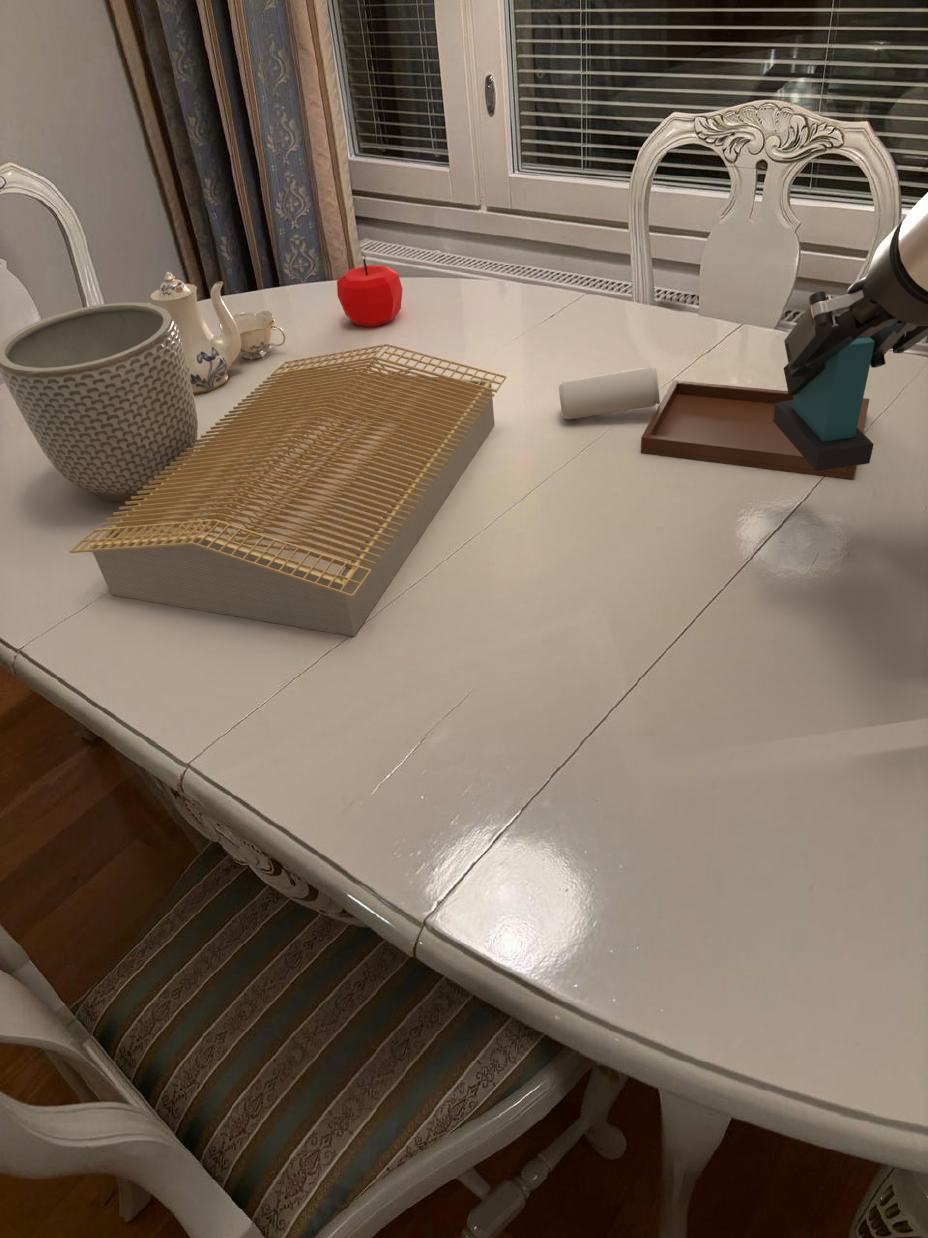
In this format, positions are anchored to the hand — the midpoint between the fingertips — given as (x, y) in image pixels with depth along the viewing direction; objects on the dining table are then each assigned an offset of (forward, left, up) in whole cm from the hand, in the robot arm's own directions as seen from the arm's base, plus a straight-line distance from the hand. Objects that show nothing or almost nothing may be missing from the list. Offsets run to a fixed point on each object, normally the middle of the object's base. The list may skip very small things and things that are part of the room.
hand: (809, 378), depth 83 cm
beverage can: (+30, -14, -13) cm, 35 cm away
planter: (+76, +14, -15) cm, 78 cm away
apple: (+71, -40, -15) cm, 83 cm away
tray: (+6, -16, -15) cm, 23 cm away
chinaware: (+88, -15, -15) cm, 91 cm away
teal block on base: (-2, +3, -5) cm, 6 cm away
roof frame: (+50, +12, -15) cm, 54 cm away
